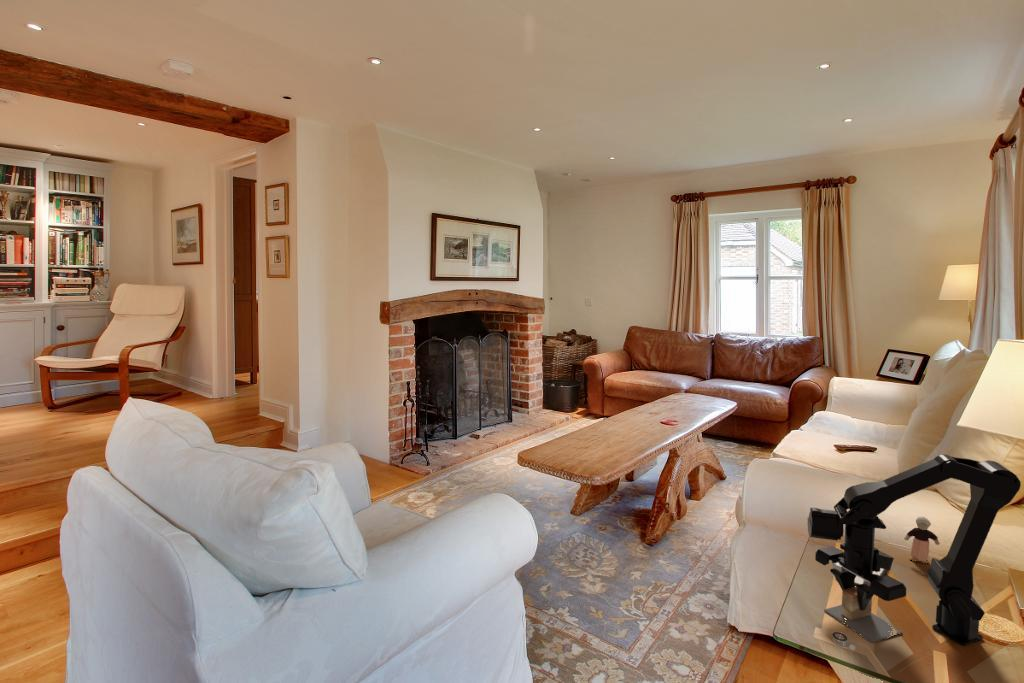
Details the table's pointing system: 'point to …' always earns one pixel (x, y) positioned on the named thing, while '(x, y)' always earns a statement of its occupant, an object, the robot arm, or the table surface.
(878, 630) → the felt mat
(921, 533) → the grandmother figurine
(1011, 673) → the table surface
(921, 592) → the table surface
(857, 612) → the birch block
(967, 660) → the table surface
